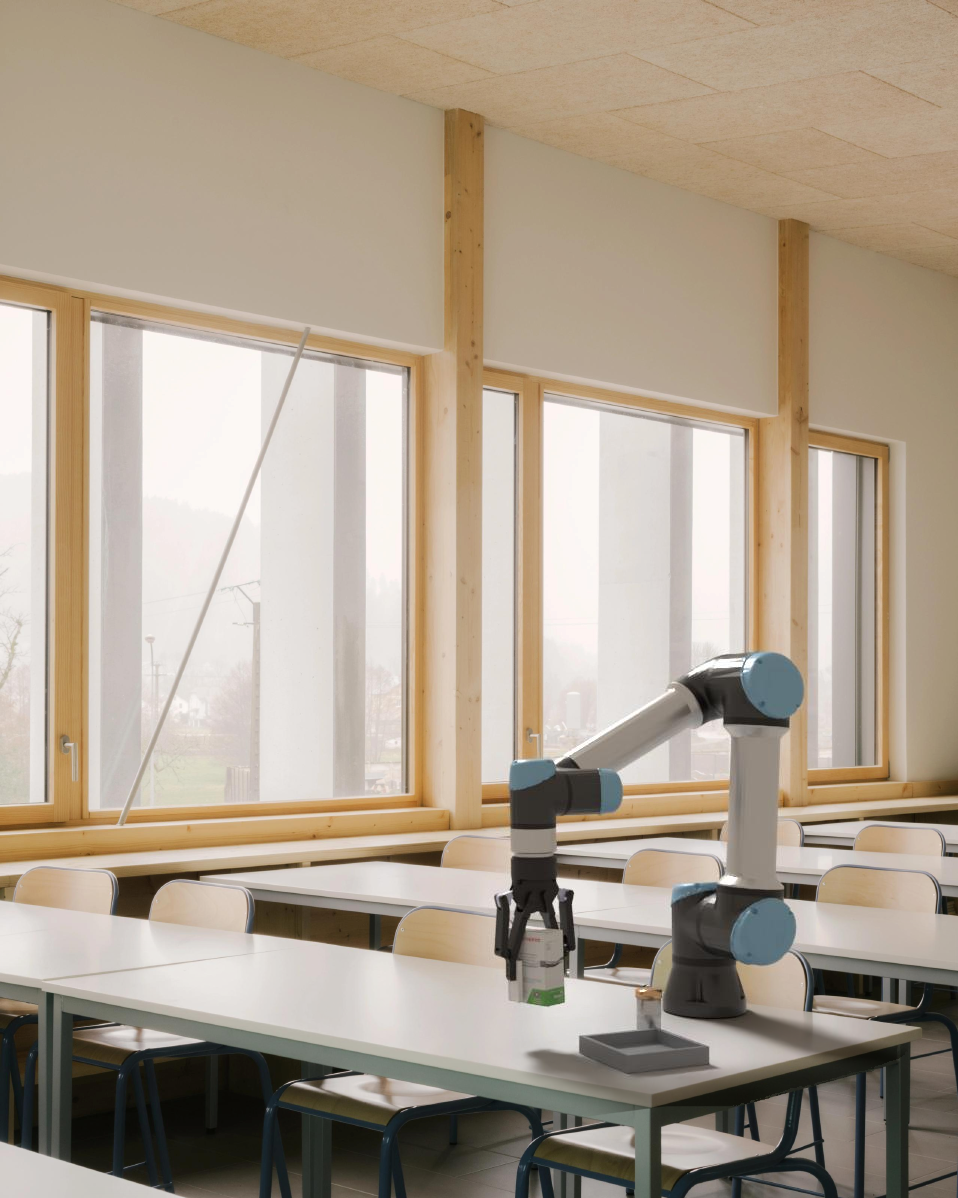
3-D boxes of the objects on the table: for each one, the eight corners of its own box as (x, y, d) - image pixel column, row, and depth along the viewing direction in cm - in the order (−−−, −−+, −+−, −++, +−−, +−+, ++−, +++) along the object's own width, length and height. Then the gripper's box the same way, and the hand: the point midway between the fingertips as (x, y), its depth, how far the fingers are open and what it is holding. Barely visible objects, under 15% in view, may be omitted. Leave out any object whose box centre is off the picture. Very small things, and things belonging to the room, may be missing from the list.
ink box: (566, 1003, 226) (565, 928, 227) (546, 1008, 223) (545, 932, 224) (526, 996, 232) (525, 923, 233) (506, 1001, 229) (505, 927, 229)
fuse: (653, 1035, 235) (652, 986, 236) (667, 1040, 231) (667, 991, 232) (630, 1037, 233) (630, 988, 234) (644, 1043, 229) (644, 993, 230)
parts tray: (657, 1044, 229) (657, 1027, 229) (709, 1064, 216) (709, 1046, 216) (579, 1052, 222) (579, 1035, 223) (627, 1073, 209) (627, 1055, 210)
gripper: (574, 849, 237) (576, 989, 235) (470, 855, 228) (472, 1000, 227) (596, 853, 230) (599, 997, 228) (490, 860, 222) (492, 1009, 220)
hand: (536, 998), depth 227 cm, fingers closed on ink box, 6 cm apart
